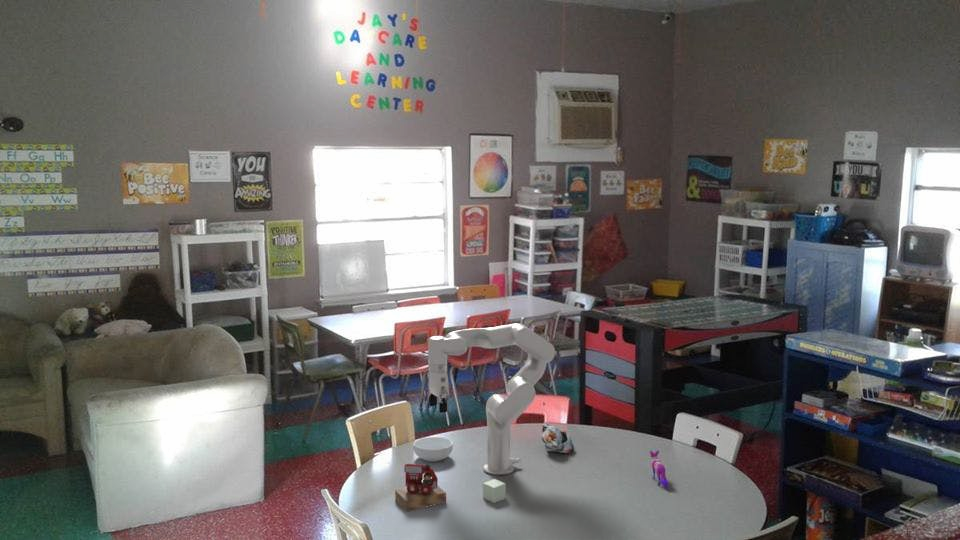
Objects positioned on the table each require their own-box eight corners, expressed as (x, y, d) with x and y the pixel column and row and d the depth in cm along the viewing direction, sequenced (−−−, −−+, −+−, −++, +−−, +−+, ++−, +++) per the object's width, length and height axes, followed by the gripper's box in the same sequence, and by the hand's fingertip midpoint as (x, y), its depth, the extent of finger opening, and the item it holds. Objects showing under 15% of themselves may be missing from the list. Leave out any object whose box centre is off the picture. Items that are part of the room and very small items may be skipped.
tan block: (434, 492, 307) (434, 482, 306) (446, 502, 297) (446, 492, 296) (395, 500, 299) (395, 490, 299) (406, 511, 290) (406, 501, 289)
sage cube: (494, 493, 305) (494, 478, 304) (505, 498, 301) (505, 483, 300) (483, 498, 301) (483, 483, 300) (493, 503, 297) (493, 487, 296)
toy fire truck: (435, 495, 294) (435, 468, 292) (402, 494, 295) (402, 467, 294) (438, 488, 300) (438, 461, 299) (406, 486, 302) (406, 460, 301)
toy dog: (656, 472, 326) (656, 448, 325) (671, 490, 308) (672, 464, 307) (647, 472, 326) (648, 448, 324) (661, 490, 308) (662, 465, 306)
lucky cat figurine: (578, 453, 347) (569, 430, 340) (553, 465, 346) (543, 442, 339) (567, 433, 360) (558, 411, 353) (543, 444, 359) (533, 422, 353)
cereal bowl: (460, 456, 344) (460, 440, 343) (438, 468, 330) (438, 452, 329) (428, 449, 353) (428, 433, 352) (405, 460, 339) (405, 444, 338)
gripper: (455, 371, 310) (455, 413, 312) (437, 361, 325) (437, 401, 328) (438, 373, 307) (438, 416, 309) (420, 363, 322) (421, 404, 324)
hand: (438, 408), depth 318 cm, fingers open, 9 cm apart
